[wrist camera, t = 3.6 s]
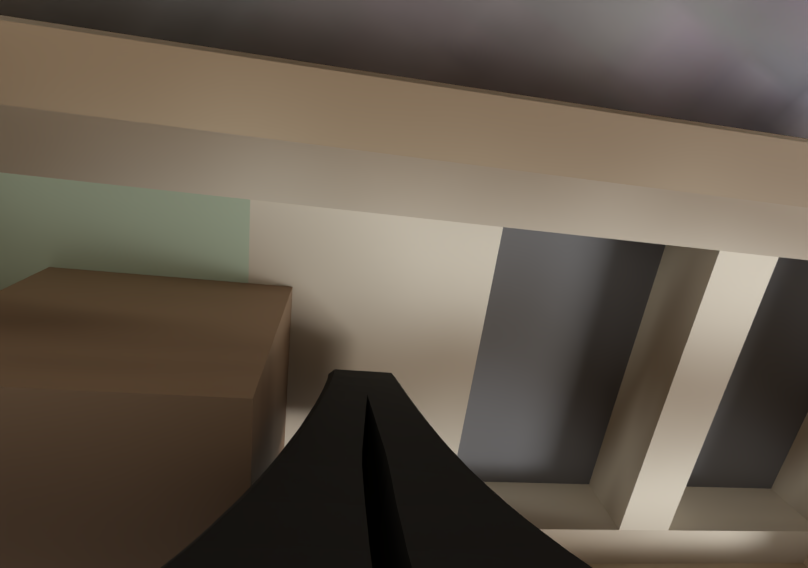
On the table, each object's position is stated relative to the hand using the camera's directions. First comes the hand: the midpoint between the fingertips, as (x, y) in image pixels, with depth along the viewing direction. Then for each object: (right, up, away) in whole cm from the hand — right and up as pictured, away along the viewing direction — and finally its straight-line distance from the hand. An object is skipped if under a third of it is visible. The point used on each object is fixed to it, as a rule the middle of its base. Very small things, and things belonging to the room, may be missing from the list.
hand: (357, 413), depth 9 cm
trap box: (+2, +1, +3) cm, 4 cm away
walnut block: (-4, +1, 0) cm, 4 cm away
